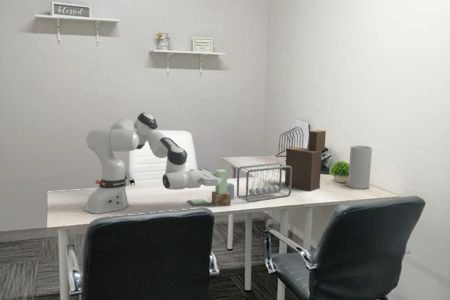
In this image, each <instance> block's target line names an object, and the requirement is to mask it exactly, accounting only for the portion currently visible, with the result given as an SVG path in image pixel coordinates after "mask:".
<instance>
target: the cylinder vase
mask: <svg viewBox="0 0 450 300" xmlns="http://www.w3.org/2000/svg"><path fill="white" fill-rule="evenodd" d="M372 152H373V147H372V146H368V145H351V146H350V151H349V153H350V154H349V168H348V179H347V185H348V187H349V188H351V189H355V190H366V189H368V188H370V179H371V165H372Z"/></svg>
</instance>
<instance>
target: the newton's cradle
mask: <svg viewBox="0 0 450 300" xmlns="http://www.w3.org/2000/svg"><path fill="white" fill-rule="evenodd" d="M272 166H273V167H272ZM260 167H261V168H260ZM286 168H290V183H289V186H288V187H289V188H288V194H286V193H282V192H280V191H282V179H283V178H282V173H283V169H286ZM242 169H244V170H246V171H247V172H246V175H245V176H246V180H245V181H246V185H245V195H240V170H242ZM271 170H272V171H273V172H272V174H271V176H273V175H274V177H276V175H275V171H274V170H278V171H277V172H279V175H277V177H276V178H278V177H279V178H278V179H279V183H277V182H278V181H275V184H274V185H273V186H272V184H271V182H272V180H273V178H271V181H270V179H268V180H269V181H268V182H269V184H268V186H266V183H267V182H266V181H264V185H263V186H262V187H260V186H261V183H258V185H257V186H258V187H256V188H254V187H251V188H250V189H249V175H251V179H253V181H255V179H256V177H254V178H253V177H252V176H253V174H252V173H254V172H255V173H254V175H256V173H257V177H258V176H259V173H258V172H260V174H262V175H263V178H262V177H260V180H259V181H261V178H262V179H263V180H265V178H267V177H268V174H266V177H265V178H264V174H263V172H264V171H266V172H269V171H271ZM236 171H237V173H236V174H237V176H236V196H237V198H239V199H243V200H245V201H246V202H247V203H255V202H260V201H268V200H274V199H280V198H286V197H287V198H288V197H290V196H291V194H292V187H291V183H292V167H291V166H286V164H282V163H281V162H272V163H264V164H253V165H243V166H238V168H237V170H236ZM250 173H251V174H250ZM273 173H274V174H273ZM254 184H255V183H252V186H254ZM277 184H278V185H277ZM277 193H279V194H280V195H275V196H270V197H269V196H268V197H264V198H263V197H262V198H255V199H249V197H257V196H264V195H270V194H271V195H272V194H277Z"/></svg>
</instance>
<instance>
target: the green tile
mask: <svg viewBox="0 0 450 300" xmlns="http://www.w3.org/2000/svg"><path fill="white" fill-rule="evenodd" d="M186 203H188V204H189V205H190V206H192V207H198V206H199V207H200V206H201V207H202V206H207V205H208V206H209V205H210V203H209V202H208V201H207V200H206V199H204V198H194V199H189V200H186Z"/></svg>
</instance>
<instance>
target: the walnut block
mask: <svg viewBox="0 0 450 300" xmlns="http://www.w3.org/2000/svg"><path fill="white" fill-rule="evenodd" d="M231 201H232V200H231V194H229V193H228V192H227V194H217V193H215V190H213V191H211V204H213V206H214V207H216V206H217V207H227V206H228V207H229V206H231V205H232V204H231Z"/></svg>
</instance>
